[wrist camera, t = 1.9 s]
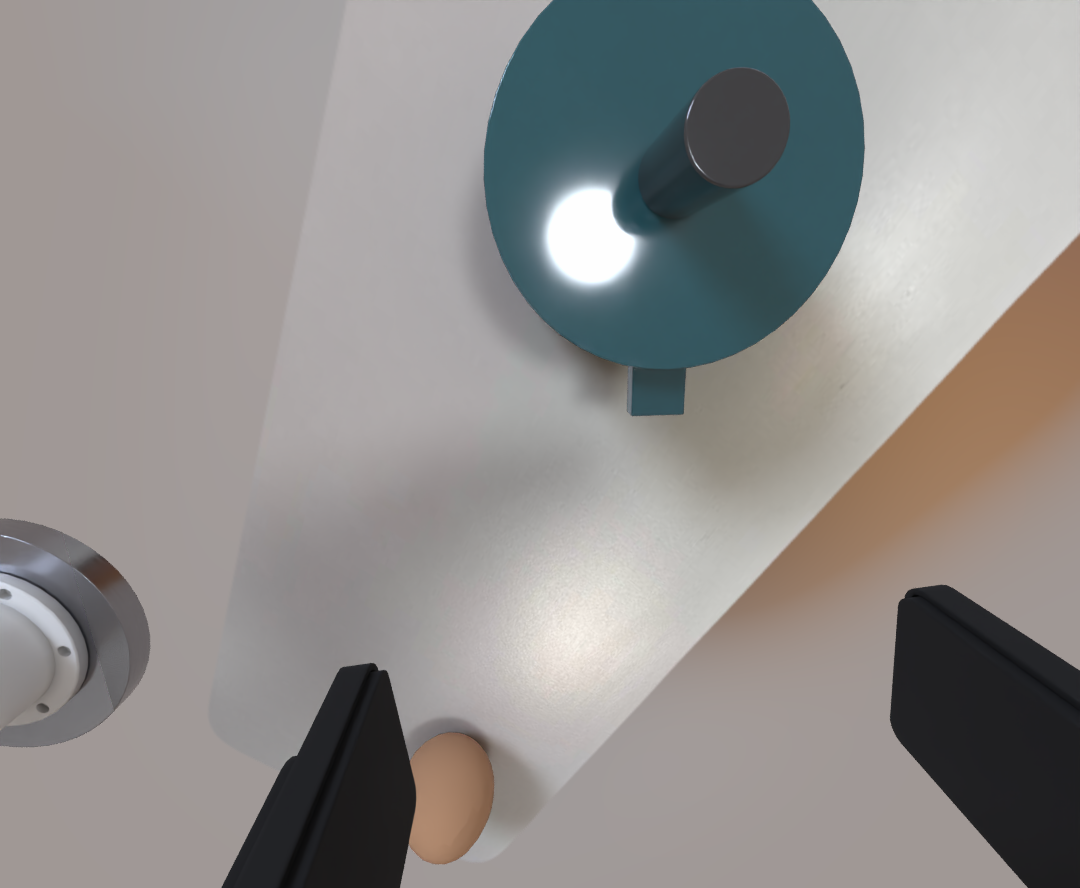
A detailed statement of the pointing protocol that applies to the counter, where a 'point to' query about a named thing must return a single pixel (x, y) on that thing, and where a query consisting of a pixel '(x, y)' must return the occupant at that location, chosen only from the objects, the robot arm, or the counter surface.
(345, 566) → the counter surface
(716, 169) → the saucepan lid
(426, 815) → the egg
